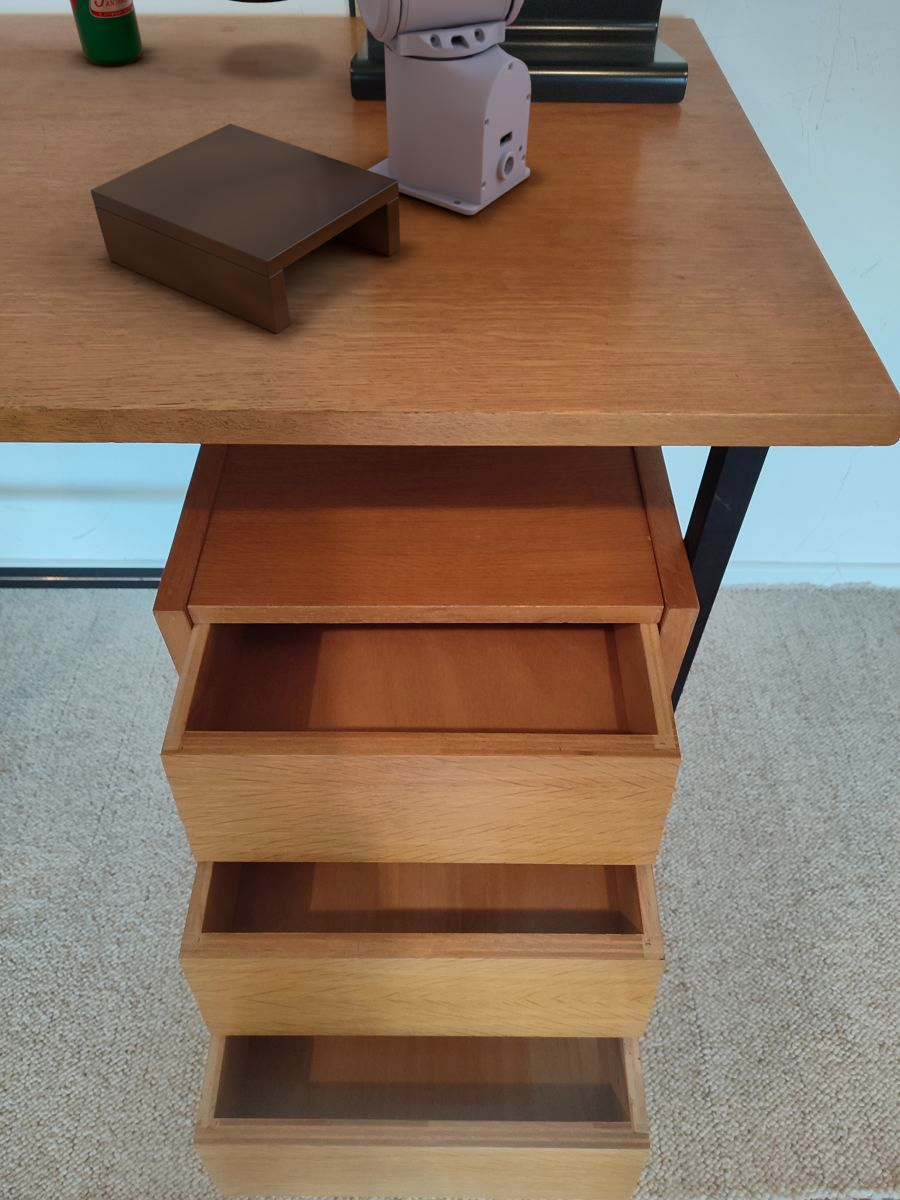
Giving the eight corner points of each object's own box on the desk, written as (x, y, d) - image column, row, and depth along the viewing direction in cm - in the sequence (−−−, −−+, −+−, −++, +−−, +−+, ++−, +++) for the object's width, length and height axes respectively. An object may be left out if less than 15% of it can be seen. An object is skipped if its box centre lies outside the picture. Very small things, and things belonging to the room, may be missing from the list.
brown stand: (400, 249, 60) (398, 179, 56) (276, 334, 53) (266, 261, 50) (240, 189, 65) (229, 122, 62) (109, 260, 58) (89, 189, 55)
